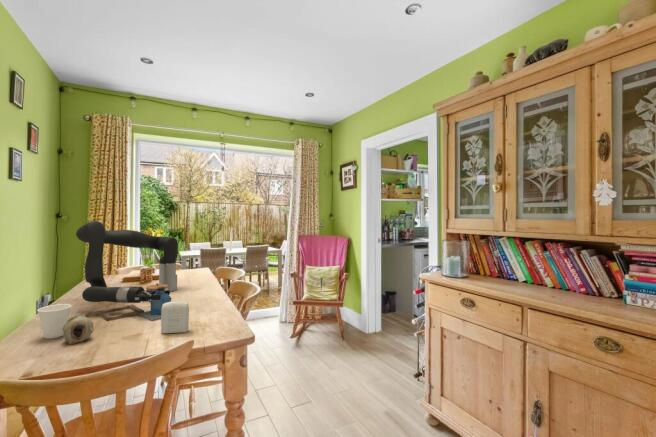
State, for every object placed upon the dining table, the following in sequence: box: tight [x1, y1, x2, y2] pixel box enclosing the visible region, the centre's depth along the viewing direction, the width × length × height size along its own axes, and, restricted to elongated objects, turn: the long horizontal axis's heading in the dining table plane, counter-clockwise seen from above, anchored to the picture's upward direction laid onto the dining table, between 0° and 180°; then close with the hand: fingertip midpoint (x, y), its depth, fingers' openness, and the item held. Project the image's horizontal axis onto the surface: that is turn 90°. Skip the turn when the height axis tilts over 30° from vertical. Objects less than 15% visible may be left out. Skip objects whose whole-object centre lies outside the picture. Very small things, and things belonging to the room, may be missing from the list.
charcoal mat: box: [138, 310, 161, 322], centre depth 148 cm, size 14×14×1 cm
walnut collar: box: [96, 304, 145, 322], centre depth 148 cm, size 15×15×1 cm
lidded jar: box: [145, 282, 168, 295], centre depth 171 cm, size 11×11×9 cm
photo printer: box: [160, 300, 190, 334], centre depth 126 cm, size 10×4×12 cm, turn 103°
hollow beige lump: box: [62, 314, 95, 345], centre depth 116 cm, size 9×8×10 cm
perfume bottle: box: [150, 287, 172, 315], centre depth 148 cm, size 6×6×12 cm
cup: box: [36, 303, 72, 340], centre depth 120 cm, size 10×10×11 cm
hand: (165, 295), depth 148 cm, fingers open, 8 cm apart
